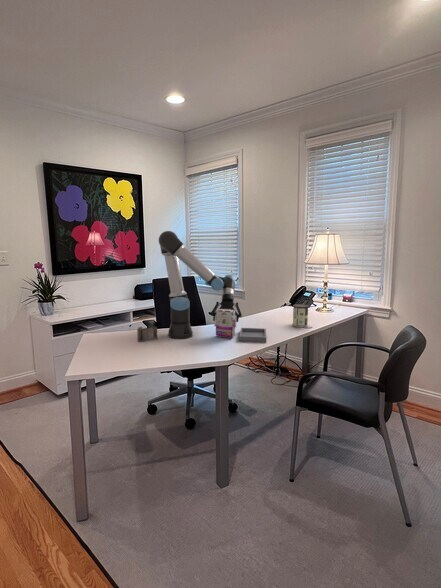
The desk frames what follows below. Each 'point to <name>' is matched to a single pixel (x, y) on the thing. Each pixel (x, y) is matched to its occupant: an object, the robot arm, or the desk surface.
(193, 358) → the desk surface
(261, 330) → the tray
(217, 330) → the candy bar box
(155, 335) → the ruin model on sheet
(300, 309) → the coffee can
